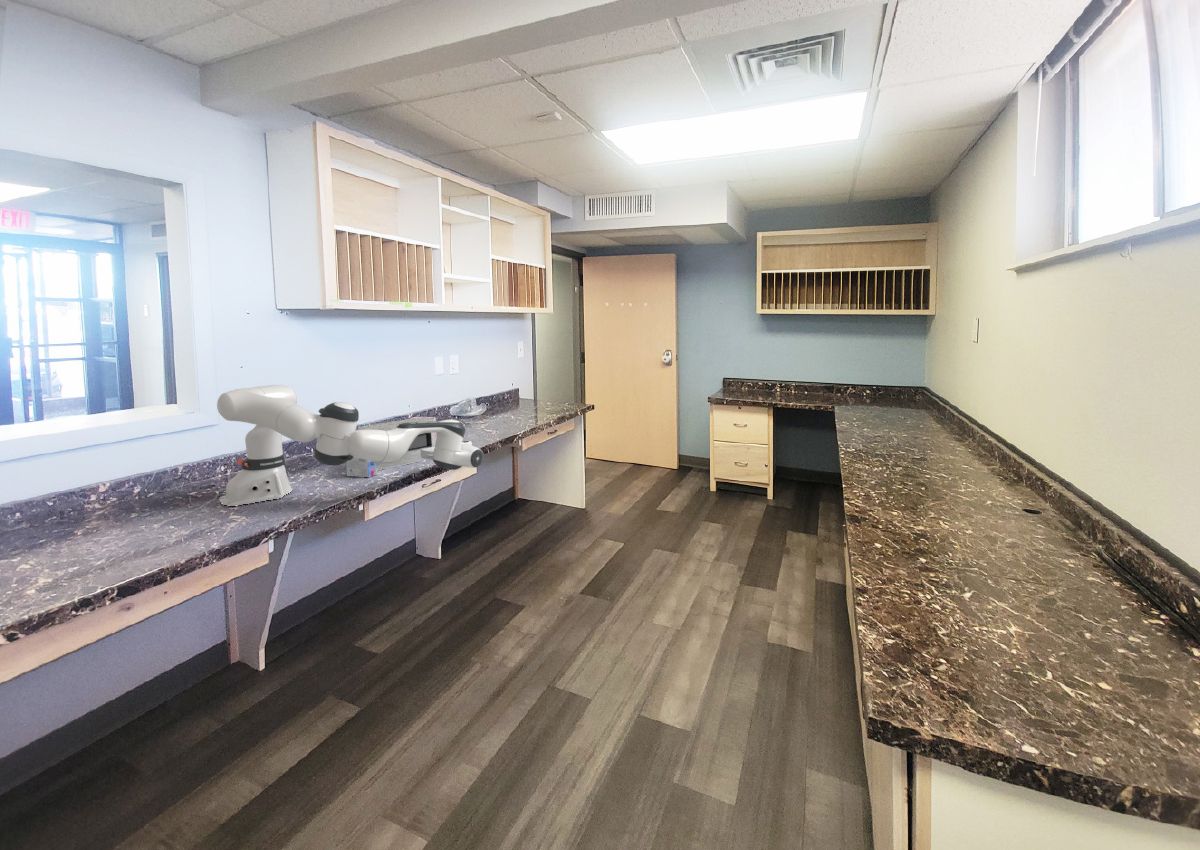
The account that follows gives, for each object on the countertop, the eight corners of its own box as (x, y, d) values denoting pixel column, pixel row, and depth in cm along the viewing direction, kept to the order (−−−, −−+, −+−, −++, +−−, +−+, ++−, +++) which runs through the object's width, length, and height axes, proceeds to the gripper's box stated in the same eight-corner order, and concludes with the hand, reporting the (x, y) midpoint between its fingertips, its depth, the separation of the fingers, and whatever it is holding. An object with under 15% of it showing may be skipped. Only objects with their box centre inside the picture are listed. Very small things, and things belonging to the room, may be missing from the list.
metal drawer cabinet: (372, 472, 233) (368, 429, 229) (362, 468, 239) (358, 426, 235) (437, 458, 254) (434, 419, 251) (426, 455, 261) (423, 416, 257)
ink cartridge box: (377, 474, 230) (374, 439, 227) (369, 478, 225) (365, 442, 222) (355, 473, 232) (351, 438, 229) (346, 477, 227) (343, 441, 224)
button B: (405, 449, 244) (404, 438, 243) (400, 448, 247) (399, 436, 246) (426, 445, 251) (425, 434, 250) (420, 444, 254) (420, 433, 254)
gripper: (431, 465, 220) (413, 459, 230) (475, 455, 235) (456, 450, 244) (430, 449, 219) (412, 444, 229) (474, 440, 234) (456, 436, 243)
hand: (435, 447), depth 237 cm, fingers closed
